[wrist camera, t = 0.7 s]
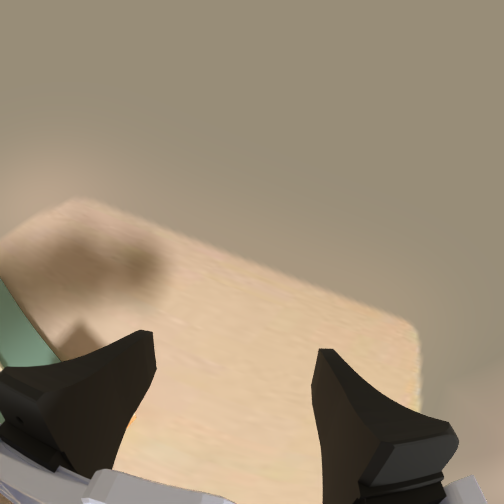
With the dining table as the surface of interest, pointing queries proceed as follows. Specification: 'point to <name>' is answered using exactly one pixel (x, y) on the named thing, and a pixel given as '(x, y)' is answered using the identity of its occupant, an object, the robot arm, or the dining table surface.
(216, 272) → the dining table surface
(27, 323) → the base plate
